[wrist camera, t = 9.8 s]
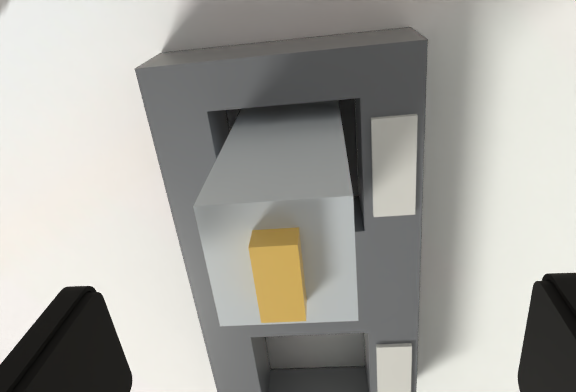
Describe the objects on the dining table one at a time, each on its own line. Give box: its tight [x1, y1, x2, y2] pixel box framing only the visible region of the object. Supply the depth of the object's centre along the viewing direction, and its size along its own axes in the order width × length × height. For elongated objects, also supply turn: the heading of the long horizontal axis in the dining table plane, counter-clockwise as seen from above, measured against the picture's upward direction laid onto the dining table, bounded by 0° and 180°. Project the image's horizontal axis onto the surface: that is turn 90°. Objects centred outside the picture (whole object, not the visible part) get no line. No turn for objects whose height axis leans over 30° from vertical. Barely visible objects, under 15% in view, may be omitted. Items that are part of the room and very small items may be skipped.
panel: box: [135, 27, 428, 392], centre depth 21 cm, size 10×20×3 cm, turn 6°
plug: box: [193, 100, 359, 326], centre depth 16 cm, size 4×4×10 cm
